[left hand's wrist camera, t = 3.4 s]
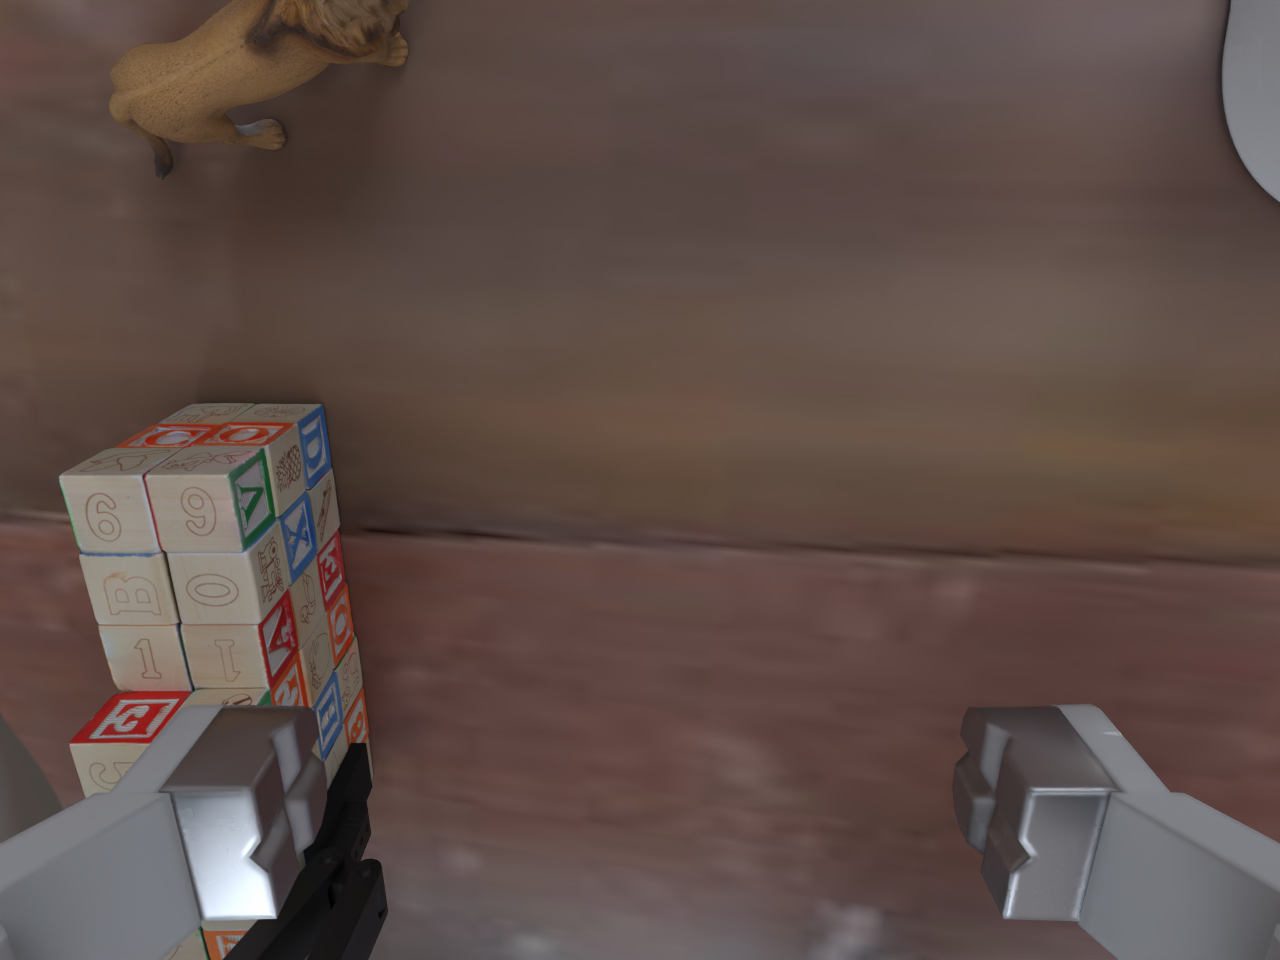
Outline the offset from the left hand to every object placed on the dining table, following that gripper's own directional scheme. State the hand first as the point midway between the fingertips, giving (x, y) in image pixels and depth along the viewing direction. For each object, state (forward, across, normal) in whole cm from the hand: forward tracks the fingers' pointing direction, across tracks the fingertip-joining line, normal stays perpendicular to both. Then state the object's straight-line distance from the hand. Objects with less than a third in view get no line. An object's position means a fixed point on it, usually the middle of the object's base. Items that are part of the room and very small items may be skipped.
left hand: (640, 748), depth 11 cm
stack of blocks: (+28, -17, -14) cm, 36 cm away
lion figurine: (+28, -13, +11) cm, 33 cm away
